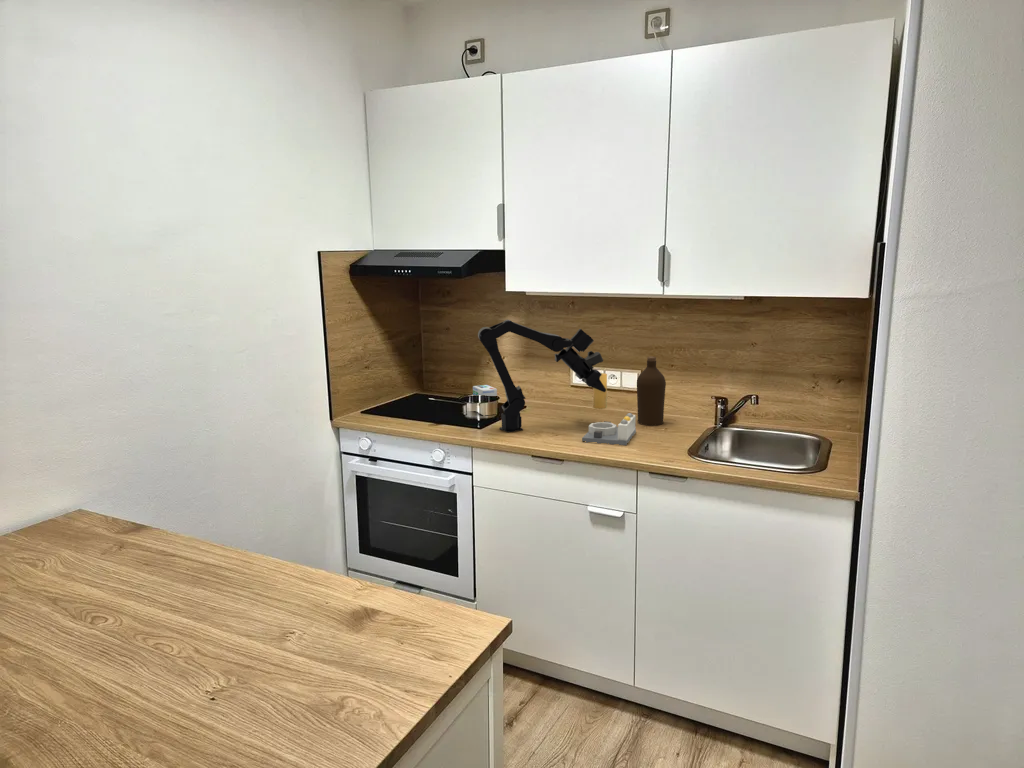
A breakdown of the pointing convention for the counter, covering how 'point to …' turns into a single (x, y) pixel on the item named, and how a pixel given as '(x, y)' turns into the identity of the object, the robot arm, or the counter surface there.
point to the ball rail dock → (612, 431)
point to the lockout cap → (600, 394)
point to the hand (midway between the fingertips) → (603, 389)
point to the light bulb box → (484, 390)
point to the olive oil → (651, 394)
